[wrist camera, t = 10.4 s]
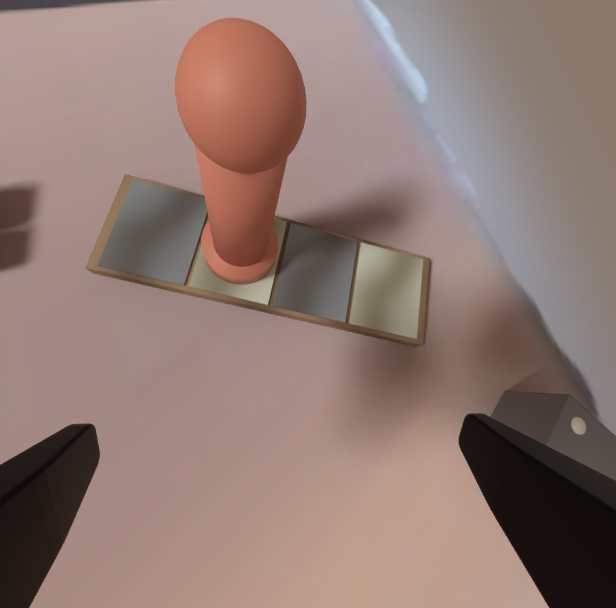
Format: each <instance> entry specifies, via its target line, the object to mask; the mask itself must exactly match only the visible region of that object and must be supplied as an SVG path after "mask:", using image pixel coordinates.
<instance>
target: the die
mask: <svg viewBox="0 0 616 608" xmlns="http://www.w3.org/2000/svg"><path fill="white" fill-rule="evenodd" d="M491 418H493V419H495V420H497V421H499V422H501V423H503V424H505V425H507V426H509V427H511V428H513V429H515V430H517V431H519V432H521V433H523V434H525V435H527V436H529V437H531V438H533V439H535V440H537V441H539V442H541V443H542V444H544V445H546V446H548V447H550V448H552V449H554V450H556V451H558V452H560V453H562V454H564V455H566V456H568V457H570V458H572V459H574V460H576V461H578V462H580V463H582V464H584V465H586V466H588V467H590V468H592V469H594V470H596V471H598V472H600V473H602V474H604V475H606V476H608V477H610V478H612V479H614V480H616V436H615V435H614V434H613V433H611V432H610V431H609V430H608V429H607V428H606V427H605V426H604V425H603V424H602V423H600V422H599V421H598V420H597V419H596V418H595V417H594V416H593V415H592V414H591V413H589V412H588V411H587V410H586V409H585V408H584V407H583V406H582V405H581V404H579V403H578V402H577V401H576V400H575V399H574V398H573V397H572V396H571V395H569V394H548V393H527V392H506V391H504V393H503V395H502V397H501V399H500V400H499V402H498V404H497V406H496V408H495V410H494V411H493V413H492V415H491Z"/></svg>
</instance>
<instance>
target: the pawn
mask: <svg viewBox="0 0 616 608" xmlns="http://www.w3.org/2000/svg"><path fill="white" fill-rule="evenodd" d="M175 95H176V102H177V108H178V111H179V114H180V117H181V120H182V123H183V125H184V127H185V129H186V131H187V133H188V135H189V137H190V138H191V139H192V141H193V142H194V144H195V148H196V153H197V159H198V164H199V169H200V175H201V180H202V186H203V191H204V196H205V202H206V207H207V212H208V218H209V221H208V222H207V224H206V225H205V227H204V229H203V233H202V238H201V244H202V250H203V253H204V257H205V260H206V263H207V265H208V267H209V268H210V270H211V271H212V272H213V273H214V274H215V275H216V276H217V277H219V278H220V279H222V280H224V281H226V282H229V283H232V284H238V285H245V284H251V283H254V282H257V281H259V280H261V279H262V278H264V277H265V276H266V275H267V274H268V273H269V272H270V270H271V269H272V267H273V265H274V262H275V259H276V256H277V252H278V237H277V234H276V231H275V229H274V227H273V226H272V225H273V220H274V216H275V211H276V207H277V202H278V198H279V193H280V189H281V184H282V180H283V175H284V171H285V166H286V162H287V157H288V155H289V154H290V153H291V152H292V151H293V149H294V148H295V146H296V144H297V143H298V141H299V139H300V136H301V134H302V131H303V128H304V123H305V117H306V94H305V87H304V83H303V79H302V75H301V73H300V70H299V68H298V66H297V63H296V61H295V59H294V58H293V56H292V54H291V53H290V51H289V50H288V48H287V47H286V46H285V45H284V43H283V42H282V41H281V40H280V39H279V38H278V37H277V36H276V35H274V34H273V33H272V32H271V31H269V30H268V29H266V28H265V27H263V26H261V25H259V24H257V23H255V22H252V21H249V20H245V19H239V18H226V19H220V20H217V21H214V22H212V23H210V24H208V25H206V26H204V27H202V28H201V29H200V30H199V31H198V32H196V33H195V34H194V35H193V37H192V38H191V39H190V40H189V42H188V43H187V45H186V46H185V48H184V50H183V52H182V54H181V57H180V60H179V62H178V66H177V72H176V77H175Z"/></svg>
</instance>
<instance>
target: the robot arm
mask: <svg viewBox="0 0 616 608" xmlns="http://www.w3.org/2000/svg"><path fill="white" fill-rule="evenodd" d="M459 446H460V449H461V451H462V453H463V455H464V457H465V459H466V461H467V463H468V465H469V467H470V469H471V471H472V473H473V475H474V477H475V479H476V481H477V483H478V486H479V488H480V490H481V492H482V494H483V496H484V498H485V500H486V501H487V503H488V505H489V507H490V509H491V511H492V513H493V514H494V516H495V518H496V520H497V521H498V523H499V525H500V526H501V528H502V530H503V531H504V533H505V535H506V536H507V538H508V540H509V541H510V543H511V545H512V546H513V548H514V550H515V551H516V553H517V555H518V556H519V558H520V560H521V561H522V563H523V565H524V566H525V568H526V570H527V571H528V573H529V575H530V576H531V578H532V580H533V581H534V583H535V585H536V586H537V588H538V590H539V591H540V593H541V595H542V597H543V598H544V600H545V602H546V603H547V605H548V607H549V608H616V480H614V479H612V478H610V477H608V476H606V475H604V474H602V473H600V472H598V471H596V470H594V469H592V468H590V467H588V466H586V465H584V464H582V463H580V462H578V461H576V460H574V459H572V458H570V457H568V456H566V455H564V454H562V453H560V452H558V451H556V450H554V449H552V448H550V447H548V446H546V445H544V444H542V443H541V442H539V441H537V440H535V439H533V438H531V437H529V436H527V435H525V434H523V433H521V432H519V431H517V430H515V429H513V428H511V427H509V426H507V425H505V424H503V423H501V422H499V421H497V420H495V419H493V418H491V417H489V416H487V415H485V414H482V413H475V414H468V415H466V417H465V419H464V422H463V425H462V428H461V432H460V435H459ZM99 458H100V451H99V445H98V440H97V434H96V429H95V427H94V425H92V424H72V425H69V426H67V427H65V428H64V429H62V430H60V431H58V432H57V433H55V434H53V435H51V436H50V437H48V438H46V439H44V440H43V441H41V442H39V443H37V444H36V445H34V446H32V447H30V448H29V449H27V450H25V451H24V452H22V453H20V454H18V455H17V456H15V457H13V458H11V459H10V460H8V461H6V462H4V463H3V464H1V465H0V608H29V607H30V605H31V603H32V601H33V600H34V598H35V596H36V594H37V592H38V590H39V588H40V587H41V585H42V583H43V581H44V579H45V577H46V576H47V574H48V572H49V570H50V568H51V566H52V564H53V563H54V561H55V559H56V557H57V555H58V553H59V551H60V549H61V547H62V545H63V543H64V541H65V539H66V537H67V535H68V533H69V530H70V528H71V526H72V523H73V521H74V519H75V516H76V514H77V512H78V510H79V507H80V505H81V503H82V500H83V498H84V496H85V493H86V491H87V489H88V486H89V484H90V482H91V479H92V477H93V475H94V472H95V470H96V468H97V465H98V462H99Z"/></svg>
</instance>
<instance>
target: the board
mask: <svg viewBox="0 0 616 608" xmlns="http://www.w3.org/2000/svg"><path fill="white" fill-rule="evenodd" d="M208 221H209V218H208V212H207V207H206V202H205V196H202V195H198V194H195V193H191V192H188V191H184V190H180V189H177V188H173V187H170V186H166V185H162V184H159V183H155V182H152V181H148V180H144V179H141V178H137V177H134V176H130V175H126V174H125V176H124V178H123V181H122V183H121V185H120V188H119V190H118V192H117V195H116V197H115V199H114V202H113V204H112V206H111V209H110V211H109V214H108V216H107V218H106V221H105V223H104V225H103V228H102V230H101V232H100V235H99V237H98V239H97V242H96V244H95V246H94V249H93V251H92V253H91V256H90V258H89V260H88V263H87V265H86V267H85V268H86V269H88V270H89V271H91V272H92V273H94V274H99V275H103V276H107V277H112V278H116V279H121V280H125V281H129V282H134V283H138V284H143V285H147V286H151V287H156V288H160V289H165V290H169V291H173V292H178V293H182V294H187V295H191V296H195V297H200V298H204V299H209V300H213V301H217V302H222V303H226V304H231V305H235V306H240V307H244V308H248V309H253V310H257V311H262V312H266V313H270V314H275V315H279V316H284V317H288V318H292V319H297V320H301V321H306V322H310V323H314V324H319V325H323V326H328V327H332V328H336V329H341V330H345V331H350V332H354V333H358V334H363V335H367V336H372V337H376V338H380V339H385V340H389V341H394V342H398V343H403V344H407V345H411V346H422V345H424V331H425V318H426V304H427V291H428V277H429V263H430V259H429V258H425V257H422V256H418V255H414V254H411V253H407V252H404V251H400V250H396V249H393V248H389V247H386V246H382V245H378V244H375V243H371V242H368V241H364V240H360V239H357V238H353V237H350V236H346V235H342V234H339V233H335V232H332V231H328V230H324V229H321V228H317V227H314V226H310V225H306V224H303V223H299V222H296V221H292V220H288V219H285V218H281V217H278V216H274V220H273V225H272V226H273V227H274V229H275V231H276V234H277V237H278V252H277V256H276V259H275V262H274V265H273V267H272V269H271V270H270V272H269V273H268V274H267V275H266V276H265V277H264V278H262V279H261V280H259V281H257V282H254V283H251V284H245V285H238V284H232V283H229V282H226V281H224V280H222V279H220V278H219V277H217V276H216V275H215V274H214V273H213V272H212V271H211V270H210V268H209V267H208V265H207V263H206V260H205V257H204V253H203V250H202V244H201V238H202V233H203V229H204V227H205V225H206V224H207V222H208Z"/></svg>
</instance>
